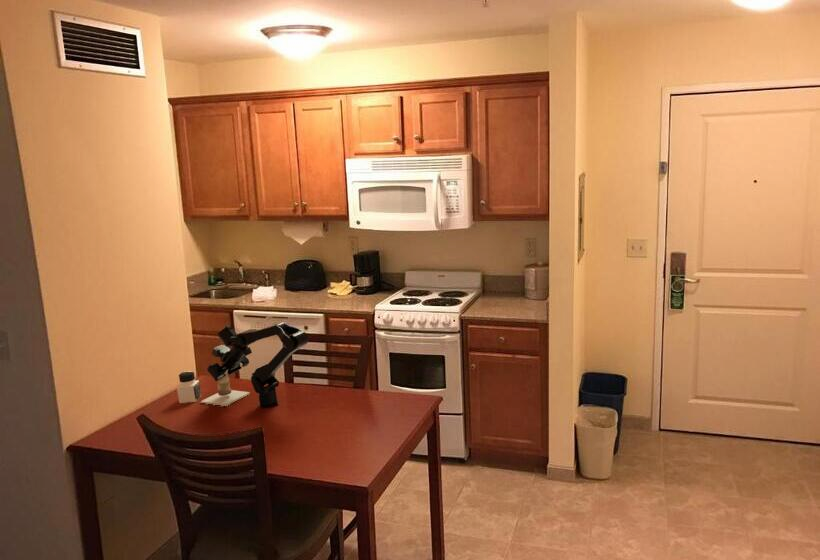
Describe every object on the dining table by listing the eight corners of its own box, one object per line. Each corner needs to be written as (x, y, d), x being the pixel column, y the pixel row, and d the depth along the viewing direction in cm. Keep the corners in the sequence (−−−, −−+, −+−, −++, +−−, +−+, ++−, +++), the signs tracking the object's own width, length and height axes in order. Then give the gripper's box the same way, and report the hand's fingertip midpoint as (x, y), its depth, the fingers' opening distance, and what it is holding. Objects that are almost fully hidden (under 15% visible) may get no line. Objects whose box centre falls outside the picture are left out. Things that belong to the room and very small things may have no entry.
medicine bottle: (196, 402, 275) (191, 374, 273) (179, 403, 275) (174, 376, 273) (201, 396, 282) (197, 369, 280) (185, 397, 282) (180, 370, 280)
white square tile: (250, 394, 278) (249, 392, 278) (226, 406, 266) (225, 404, 266) (225, 391, 285) (225, 389, 284) (201, 403, 273) (200, 401, 273)
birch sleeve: (234, 391, 276) (230, 366, 274) (224, 396, 271) (220, 370, 269) (225, 390, 278) (221, 365, 276) (215, 395, 274) (211, 369, 272)
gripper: (239, 333, 277) (224, 357, 284) (206, 346, 261) (191, 371, 268) (256, 352, 274) (240, 376, 282) (224, 366, 258) (208, 391, 266)
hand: (220, 378), depth 274 cm, fingers closed on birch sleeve, 5 cm apart
